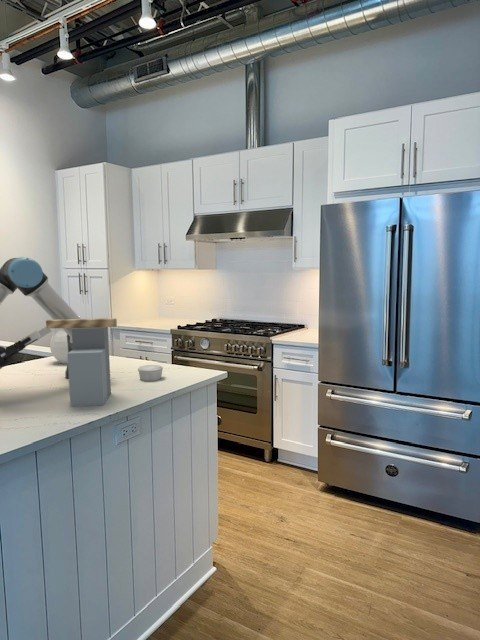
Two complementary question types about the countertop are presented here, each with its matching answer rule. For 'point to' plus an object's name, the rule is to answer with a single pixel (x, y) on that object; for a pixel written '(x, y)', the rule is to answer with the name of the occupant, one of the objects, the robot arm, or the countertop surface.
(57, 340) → the pitcher
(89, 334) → the stand
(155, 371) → the ramekin
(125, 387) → the countertop surface
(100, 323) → the oak bar
